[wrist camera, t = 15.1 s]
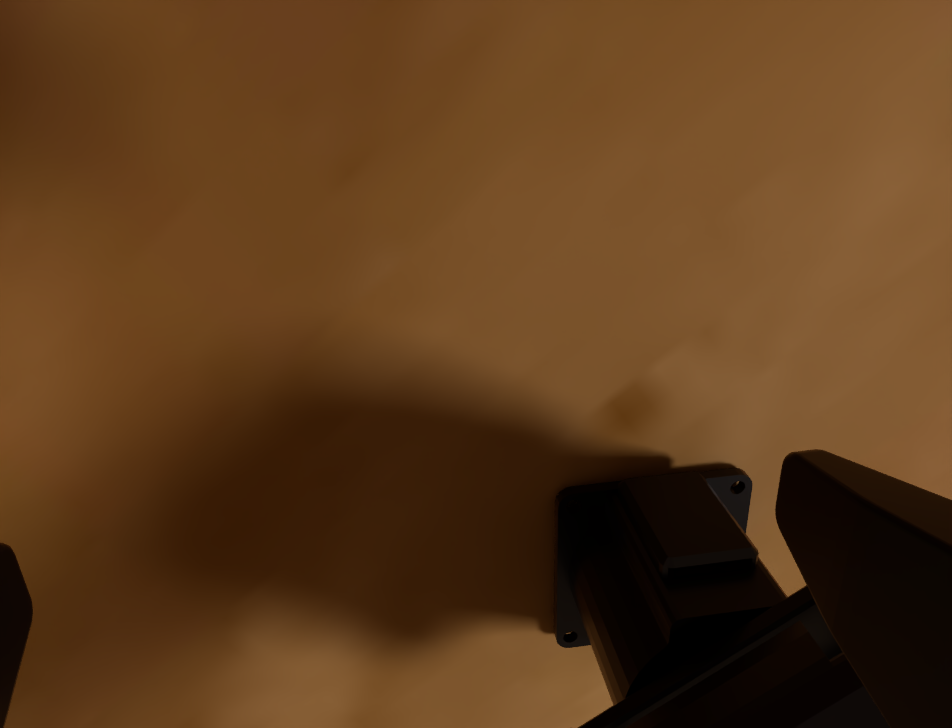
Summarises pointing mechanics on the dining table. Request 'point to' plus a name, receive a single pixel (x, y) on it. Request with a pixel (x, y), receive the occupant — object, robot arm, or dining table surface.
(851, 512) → the robot arm
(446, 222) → the dining table surface
